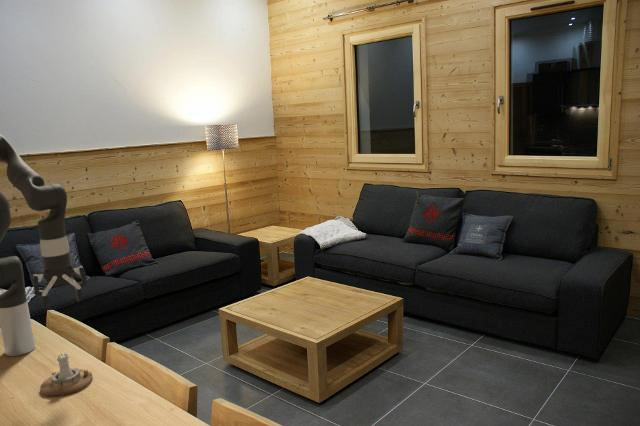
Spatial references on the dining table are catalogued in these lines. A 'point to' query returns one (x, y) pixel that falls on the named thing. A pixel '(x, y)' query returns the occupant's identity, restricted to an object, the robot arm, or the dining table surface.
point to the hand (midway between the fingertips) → (63, 303)
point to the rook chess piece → (64, 367)
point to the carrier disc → (66, 383)
